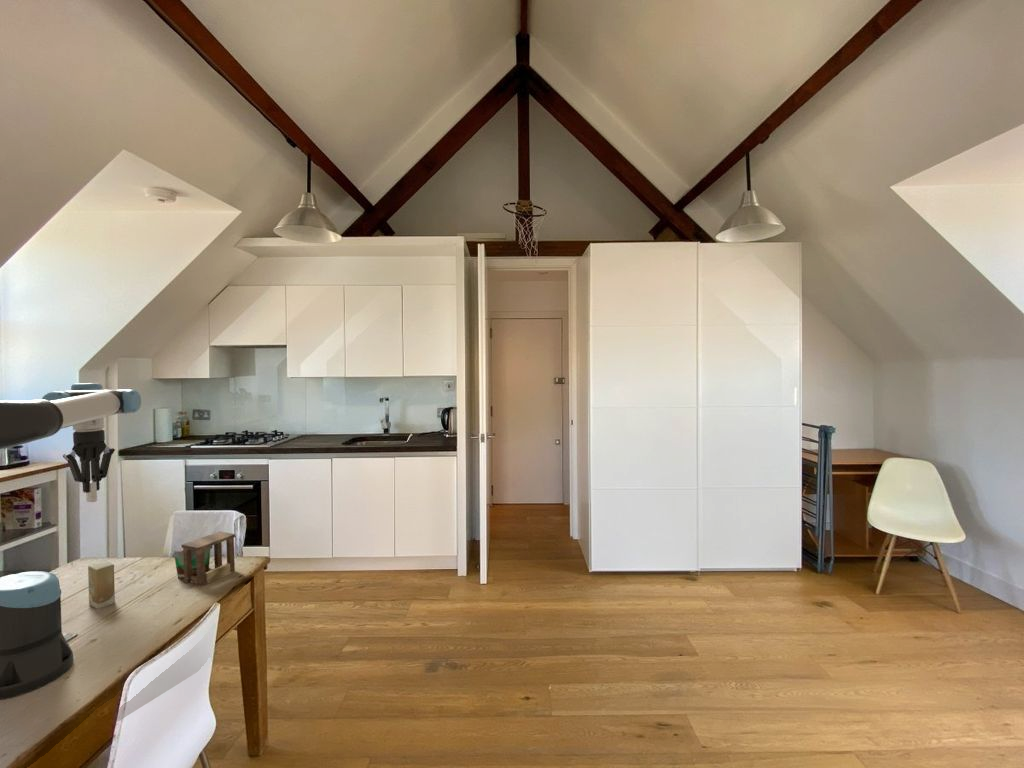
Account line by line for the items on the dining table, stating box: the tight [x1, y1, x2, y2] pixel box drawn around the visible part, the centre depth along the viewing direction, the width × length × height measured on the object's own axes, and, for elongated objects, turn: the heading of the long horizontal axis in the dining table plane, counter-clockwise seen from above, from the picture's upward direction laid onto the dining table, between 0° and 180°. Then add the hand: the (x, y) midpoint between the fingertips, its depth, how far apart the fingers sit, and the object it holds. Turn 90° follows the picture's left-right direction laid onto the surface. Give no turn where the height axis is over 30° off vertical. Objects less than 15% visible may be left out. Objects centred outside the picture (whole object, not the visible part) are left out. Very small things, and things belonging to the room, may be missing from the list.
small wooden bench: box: [181, 531, 236, 587], centre depth 154 cm, size 13×8×13 cm, turn 159°
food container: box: [172, 545, 214, 580], centre depth 155 cm, size 12×6×10 cm, turn 156°
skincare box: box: [87, 560, 116, 610], centre depth 136 cm, size 6×4×12 cm
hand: (91, 501), depth 147 cm, fingers closed
